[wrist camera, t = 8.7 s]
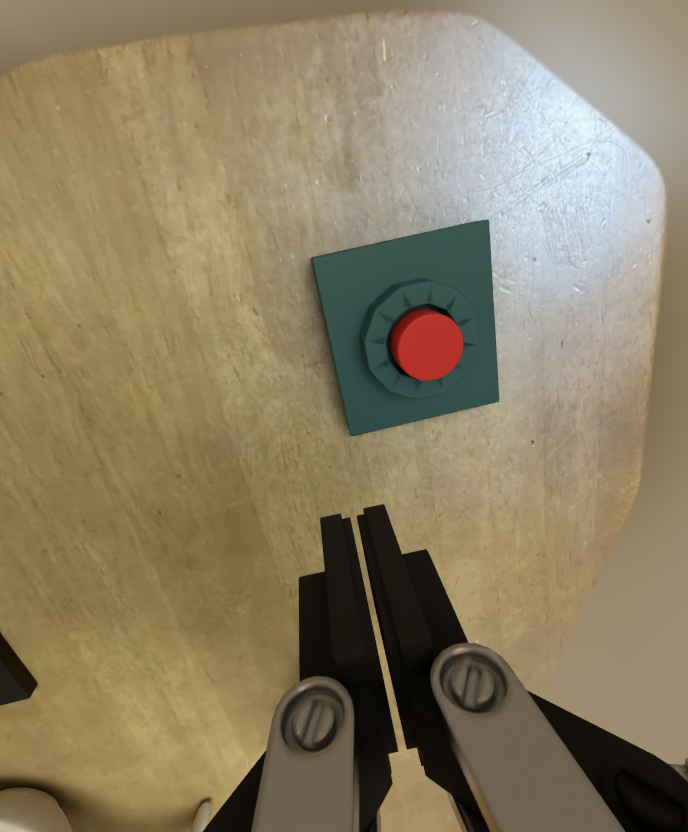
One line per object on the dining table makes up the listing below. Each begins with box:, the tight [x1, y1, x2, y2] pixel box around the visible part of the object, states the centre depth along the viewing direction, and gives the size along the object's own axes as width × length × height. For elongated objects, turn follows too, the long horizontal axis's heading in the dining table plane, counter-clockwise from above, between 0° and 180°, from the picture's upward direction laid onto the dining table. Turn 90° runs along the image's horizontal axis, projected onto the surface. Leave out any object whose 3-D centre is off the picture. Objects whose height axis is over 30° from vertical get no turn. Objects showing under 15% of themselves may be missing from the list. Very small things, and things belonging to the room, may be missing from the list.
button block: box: [311, 220, 499, 436], centre depth 25 cm, size 11×10×4 cm
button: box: [391, 309, 463, 381], centre depth 23 cm, size 4×4×2 cm
